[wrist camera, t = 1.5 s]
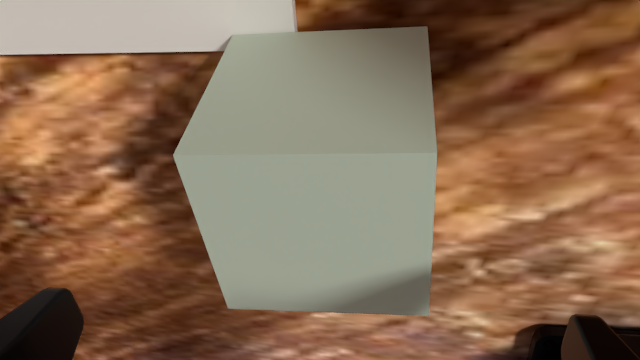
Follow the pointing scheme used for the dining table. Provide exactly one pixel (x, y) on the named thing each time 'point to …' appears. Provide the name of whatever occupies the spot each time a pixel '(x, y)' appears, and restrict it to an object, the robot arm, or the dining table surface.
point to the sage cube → (317, 171)
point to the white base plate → (136, 24)
